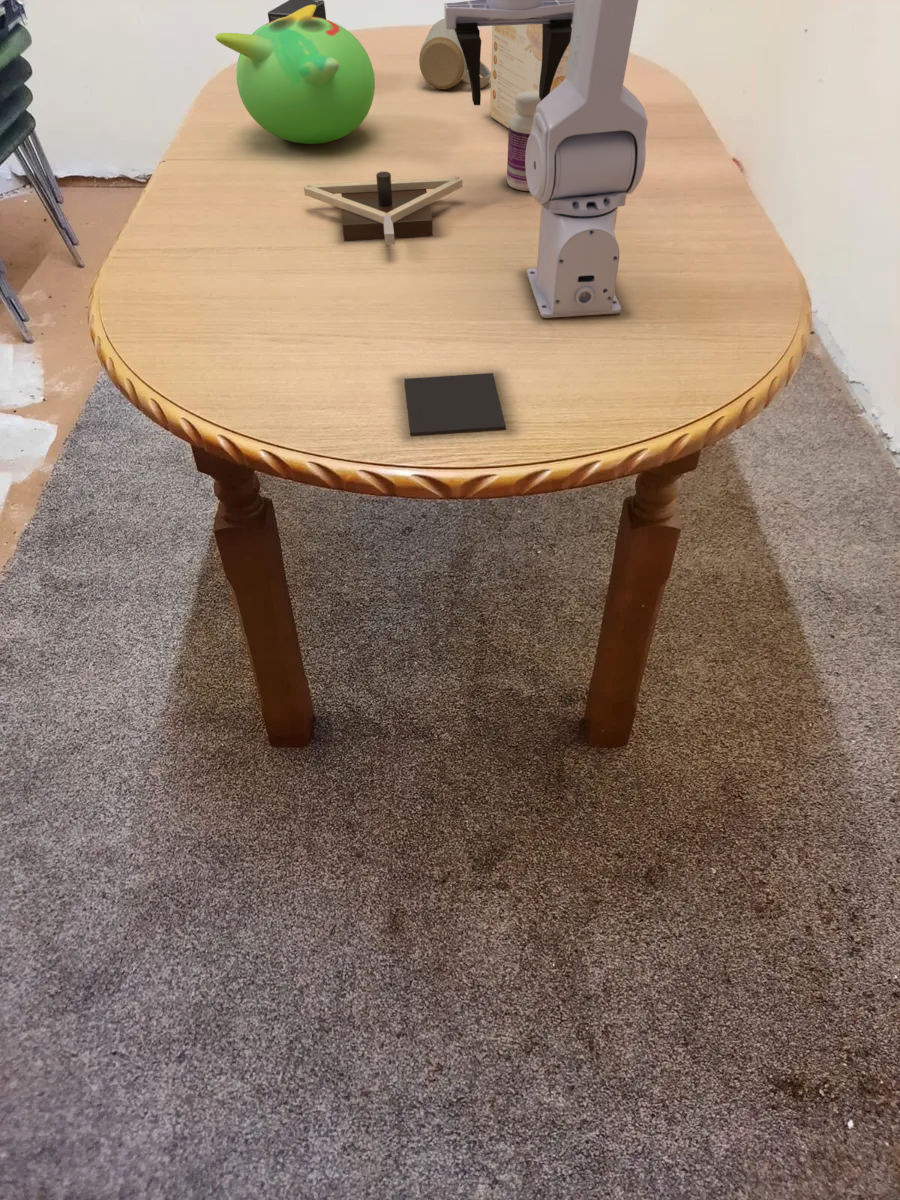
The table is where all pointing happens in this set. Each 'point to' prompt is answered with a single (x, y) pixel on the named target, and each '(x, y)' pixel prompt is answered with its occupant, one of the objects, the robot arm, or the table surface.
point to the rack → (386, 202)
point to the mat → (453, 404)
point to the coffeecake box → (517, 67)
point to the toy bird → (303, 77)
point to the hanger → (329, 190)
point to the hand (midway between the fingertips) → (509, 100)
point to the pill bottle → (520, 138)
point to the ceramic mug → (446, 59)
